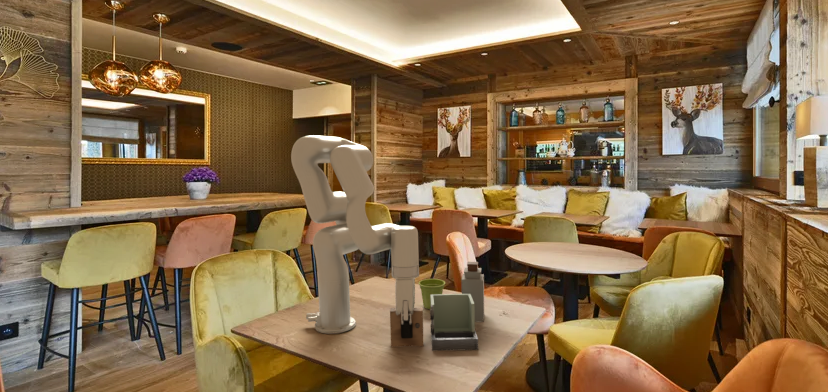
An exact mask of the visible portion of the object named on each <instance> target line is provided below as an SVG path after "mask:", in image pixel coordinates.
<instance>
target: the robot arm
mask: <svg viewBox="0 0 828 392" xmlns="http://www.w3.org/2000/svg"><path fill="white" fill-rule="evenodd" d="M290 157H291V159H290V160H291V161H290V162H291V165H292V168H293V171H294V173H295V176H296V177H297V180H298V183H299V185H300V187H301V191H302V195H303V198H304V202H305V205H306V208H307V212H308V215H309V218H310V219H311V221H312V222H313V223H316V224H319V225H321V224H328V223H333V222H335V225H330V226H326V227H323V228H320V229H319V230H318V231H317V232H315V234H314V235H313V239H312V248H313V252H314V257H315V262H316V271H317V272H316V273H317V274H316V275H317V287H318V288H317V290H318V310H319V311H317V312H314V313H312V312H306V314H305V318H306V319H305V320H307V322H309V323H310V322H315V323H314V329H315V331H317V332H318V333H321V334H326V335H327V334H328V335H331V334H341V333H342V334H343V333H345V332H349V331H351V330H352V329H354V327H356V325H357V323H356V319H355V318H354V317H352V316H351V300H350V299H351V298H350V295H351V294H350V274H349V272H350V271H349V265H348V264H347V262H346V260H345V258H344V255H346V254H350V253H352V252H355V251H358V250H359V251H360V252H361V253H363V254H365V255H374V254H378V253H380V252H384V251H389V250H390V254H391V255H390V256H391V257H390V258H391V278H392V279H395V284H394V285H395V286H394V287H395V291H394V293H395V308H396V315H398V314H400V313H401V338H413V325H412V323H411V315H412V314H413V313H414V308H415V303H416V302H415V301H416V281H415V280H416V279H417V278H418V277H420V267H419V266H420V264H419V260H420V258H419V232H418V229H417V227H415V226H413V225H399V224H395V223H391V222H384V223H380V224H376V225H371V223H370V220H369V218H368V216H367V213H366V202H367V200H368V198H370V197H371V196H372V194H374V191H375V185H374V183H373V182H372V180H371V178H370V176H369V174H368V172H369V171H370V170H371V168H372V167H373V165H374V157H373V153H372V152H371V150H370V149H369V148H368V147H367V146H365V145H362V144H360V143H356V142H354V141H350V140H348V139H346V138H342V137H339V136H328V135H314V134H313V135H305V136H302V137H299V138H298V139H297V140H296V141H295V142H294V144H293V146H292V149H291V154H290ZM319 164H330V165H331V167H332V170H333V171H334V173H335V174H334V175H336V178H337V180H338V182H339V184H340V186H341V188H342V190H343V191H340V190H339V191H332V188H331V186H330V183H329V180H328V177H327V175H326V173H325V172H324V171H323V170H322V169H321V167H319ZM408 312H410V313H408ZM403 316H404V317H403ZM408 316H409V317H408Z"/></svg>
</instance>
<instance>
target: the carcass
mask: <svg viewBox="0 0 828 392" xmlns="http://www.w3.org/2000/svg"><path fill="white" fill-rule="evenodd" d="M431 306H433V310H434V319H433V324H434V333H435V331H472V332H475V331H476V330H475V329H476V326H475V325H476V322H475V306H474V301H473V299H472V296H471V294H462V293H442V294H434V295H431Z"/></svg>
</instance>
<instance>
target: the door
mask: <svg viewBox="0 0 828 392" xmlns="http://www.w3.org/2000/svg"><path fill="white" fill-rule="evenodd" d="M423 308H424V307H414V313H413V314H412V315H411V323H412V325H413V338H401V313H400V314H398V315H396V307H391V308H389V309H390V310H389V324H390V325H389V326H390V328H389V329H390V347H395V348H396V347H424V312H423ZM408 313H410V312H408ZM403 317H404V316H403ZM408 317H409V316H408Z"/></svg>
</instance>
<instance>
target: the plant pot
mask: <svg viewBox="0 0 828 392" xmlns="http://www.w3.org/2000/svg"><path fill="white" fill-rule="evenodd" d="M418 285H419V289H420V291H421V298H422V304H423V308H424V309H426V310H427V309H428V310H431V295H434V294H443V292H444V291H443V290H444V288H445V285H446V281H445V280H443V279H438V278H427V279H421V280H420V281H418Z"/></svg>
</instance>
